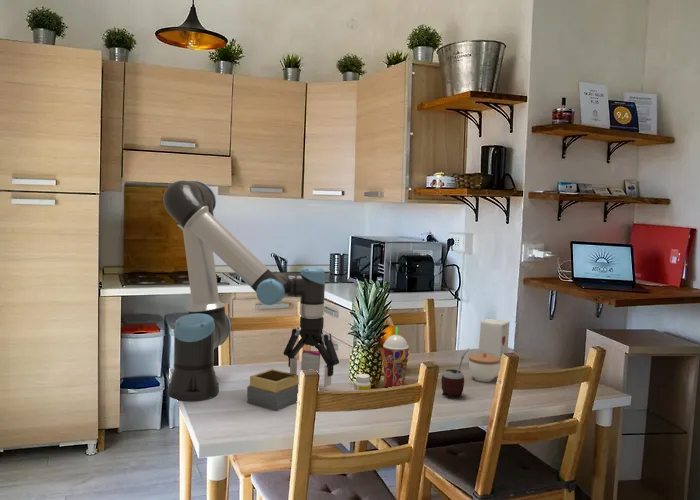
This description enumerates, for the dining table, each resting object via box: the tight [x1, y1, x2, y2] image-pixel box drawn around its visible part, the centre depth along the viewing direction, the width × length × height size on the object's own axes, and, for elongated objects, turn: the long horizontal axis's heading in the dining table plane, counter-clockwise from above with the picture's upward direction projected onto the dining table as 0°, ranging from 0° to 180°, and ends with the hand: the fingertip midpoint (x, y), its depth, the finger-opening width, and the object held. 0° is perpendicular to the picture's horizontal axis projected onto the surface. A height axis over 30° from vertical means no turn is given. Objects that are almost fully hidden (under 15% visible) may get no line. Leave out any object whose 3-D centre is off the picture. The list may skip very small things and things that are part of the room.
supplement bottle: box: [354, 373, 372, 391], centre depth 189 cm, size 5×5×8 cm
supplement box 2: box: [478, 318, 510, 359], centre depth 246 cm, size 9×9×15 cm
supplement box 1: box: [300, 349, 321, 374], centre depth 201 cm, size 6×6×12 cm
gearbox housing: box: [246, 368, 299, 412], centre depth 186 cm, size 11×11×8 cm
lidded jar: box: [468, 352, 501, 383], centre depth 218 cm, size 11×11×9 cm
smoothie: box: [382, 326, 410, 388], centre depth 205 cm, size 8×8×20 cm
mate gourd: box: [440, 347, 470, 400], centre depth 198 cm, size 8×8×15 cm
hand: (310, 381), depth 202 cm, fingers open, 13 cm apart
